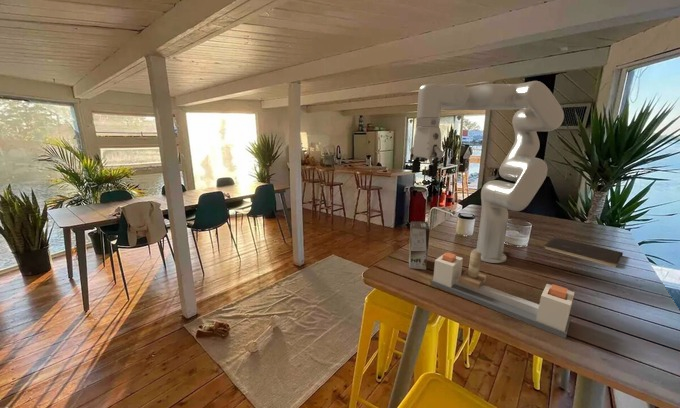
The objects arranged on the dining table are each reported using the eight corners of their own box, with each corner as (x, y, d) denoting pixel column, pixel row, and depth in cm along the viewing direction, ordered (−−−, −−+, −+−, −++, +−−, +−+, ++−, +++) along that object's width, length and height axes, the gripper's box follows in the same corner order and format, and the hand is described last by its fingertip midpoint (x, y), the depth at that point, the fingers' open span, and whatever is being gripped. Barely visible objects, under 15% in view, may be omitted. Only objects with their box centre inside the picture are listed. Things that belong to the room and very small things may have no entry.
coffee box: (426, 270, 103) (430, 229, 99) (409, 268, 104) (411, 228, 100) (424, 259, 111) (427, 221, 107) (408, 257, 113) (410, 220, 109)
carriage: (466, 274, 92) (470, 246, 89) (486, 281, 88) (490, 252, 85) (458, 282, 87) (461, 253, 84) (478, 290, 83) (482, 259, 80)
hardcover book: (615, 269, 104) (617, 263, 103) (543, 249, 121) (544, 244, 120) (621, 257, 113) (623, 252, 113) (554, 240, 131) (555, 236, 130)
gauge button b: (550, 295, 74) (552, 284, 74) (565, 300, 72) (567, 288, 71) (547, 300, 72) (550, 288, 71) (563, 305, 70) (566, 293, 69)
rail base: (442, 274, 99) (444, 251, 97) (570, 321, 75) (577, 292, 72) (430, 284, 93) (432, 260, 91) (565, 338, 69) (573, 307, 66)
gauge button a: (445, 261, 94) (446, 252, 93) (455, 264, 92) (456, 254, 91) (441, 264, 92) (442, 255, 91) (451, 267, 90) (452, 258, 89)
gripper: (454, 123, 86) (449, 177, 90) (422, 124, 102) (418, 170, 106) (434, 123, 83) (429, 179, 88) (404, 124, 99) (401, 171, 104)
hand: (423, 174), depth 97 cm, fingers open, 9 cm apart
